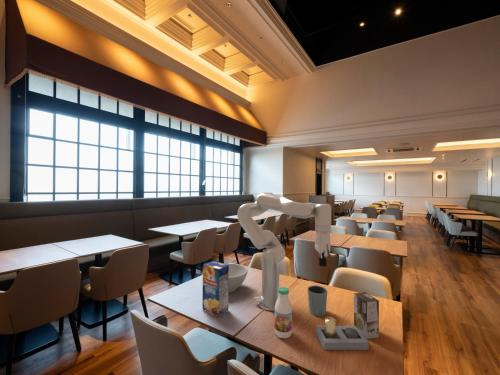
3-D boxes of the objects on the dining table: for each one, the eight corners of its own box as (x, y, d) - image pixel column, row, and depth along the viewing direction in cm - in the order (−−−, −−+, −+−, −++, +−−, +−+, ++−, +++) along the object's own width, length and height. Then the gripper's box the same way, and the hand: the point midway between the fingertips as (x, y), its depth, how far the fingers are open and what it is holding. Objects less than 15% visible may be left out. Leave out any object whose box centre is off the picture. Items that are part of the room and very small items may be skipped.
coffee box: (379, 337, 101) (379, 300, 101) (366, 339, 100) (367, 302, 100) (365, 325, 110) (365, 291, 110) (353, 327, 109) (353, 292, 109)
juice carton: (202, 309, 123) (202, 264, 123) (212, 303, 129) (212, 261, 129) (218, 316, 116) (219, 269, 116) (228, 310, 122) (228, 265, 122)
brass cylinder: (326, 344, 96) (327, 322, 96) (323, 337, 101) (323, 316, 101) (337, 344, 96) (337, 322, 96) (333, 337, 101) (333, 316, 101)
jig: (324, 349, 93) (324, 339, 93) (316, 332, 104) (316, 323, 104) (368, 349, 93) (368, 339, 93) (355, 332, 104) (355, 323, 104)
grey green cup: (327, 309, 125) (327, 286, 125) (327, 319, 115) (327, 295, 115) (308, 305, 128) (308, 284, 128) (306, 315, 118) (306, 291, 118)
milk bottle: (273, 328, 107) (273, 285, 107) (289, 328, 107) (289, 285, 107) (276, 339, 99) (276, 293, 99) (293, 338, 100) (294, 292, 100)
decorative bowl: (255, 286, 153) (255, 268, 153) (230, 303, 130) (231, 281, 130) (223, 277, 167) (223, 260, 167) (196, 291, 144) (197, 272, 145)
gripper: (311, 226, 121) (310, 261, 121) (320, 231, 106) (319, 271, 106) (325, 226, 121) (325, 261, 121) (336, 231, 106) (336, 271, 106)
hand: (322, 265), depth 114 cm, fingers closed
